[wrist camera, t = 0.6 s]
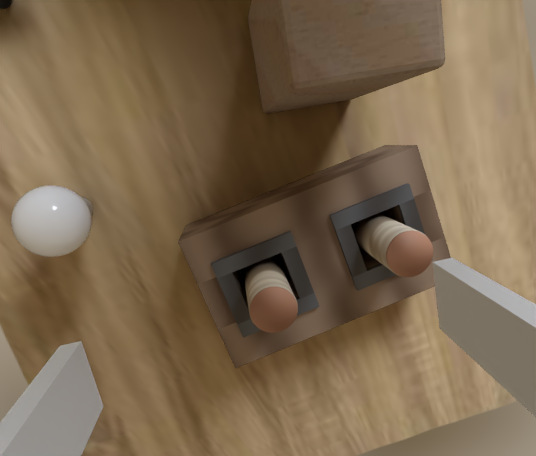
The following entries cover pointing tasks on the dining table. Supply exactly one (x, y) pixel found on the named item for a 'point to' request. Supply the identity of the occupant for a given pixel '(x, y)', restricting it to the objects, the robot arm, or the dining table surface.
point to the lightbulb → (51, 220)
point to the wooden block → (340, 47)
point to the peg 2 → (394, 245)
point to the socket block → (313, 248)
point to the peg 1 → (269, 297)
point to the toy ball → (5, 3)
